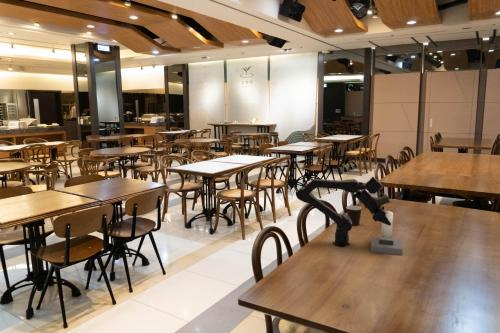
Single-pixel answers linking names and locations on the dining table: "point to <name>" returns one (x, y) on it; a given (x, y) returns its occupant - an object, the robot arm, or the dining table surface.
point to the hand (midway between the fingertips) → (390, 223)
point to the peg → (387, 226)
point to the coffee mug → (354, 214)
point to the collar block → (386, 245)
